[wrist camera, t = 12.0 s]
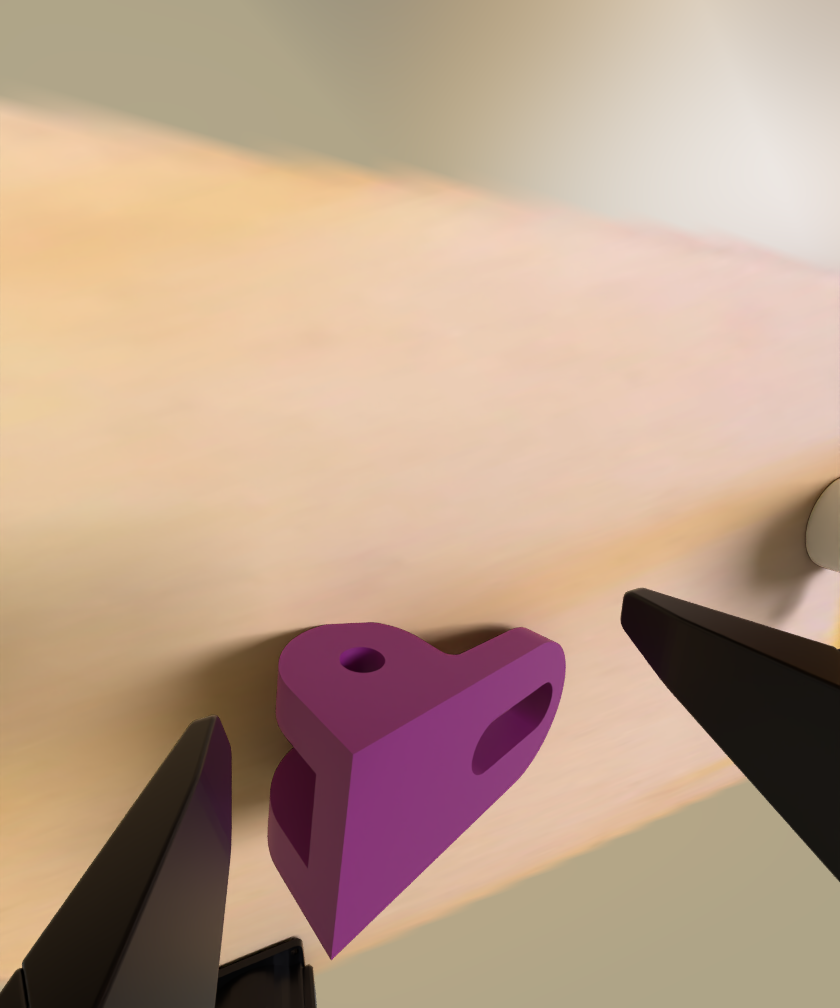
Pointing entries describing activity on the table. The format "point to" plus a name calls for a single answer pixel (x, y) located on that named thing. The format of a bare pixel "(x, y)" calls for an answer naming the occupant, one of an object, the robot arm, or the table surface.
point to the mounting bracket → (395, 758)
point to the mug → (825, 529)
